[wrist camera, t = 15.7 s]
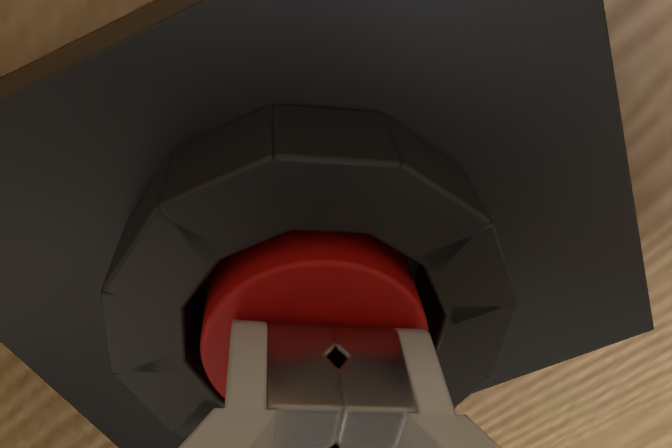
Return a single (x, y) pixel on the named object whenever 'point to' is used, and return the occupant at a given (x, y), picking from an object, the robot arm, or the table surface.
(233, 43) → the block
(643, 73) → the table surface
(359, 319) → the button
